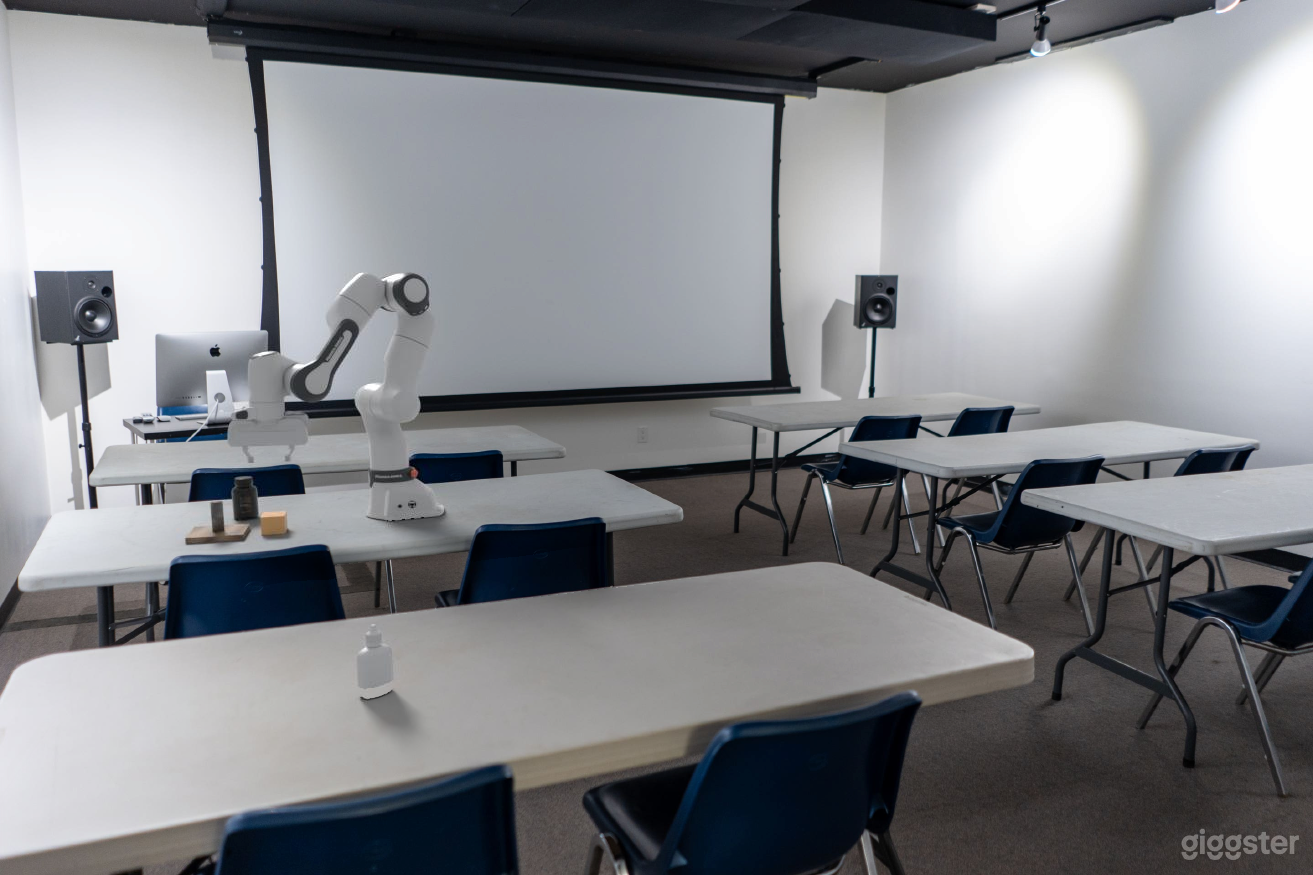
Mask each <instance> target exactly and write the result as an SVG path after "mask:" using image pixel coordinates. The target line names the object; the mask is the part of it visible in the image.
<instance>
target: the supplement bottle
mask: <svg viewBox="0 0 1313 875" xmlns="http://www.w3.org/2000/svg"><path fill="white" fill-rule="evenodd" d="M253 484H254V481H253V476H251V475H250V476H248V475H247V476H246V475H245V476H238V477H235V478H234V485H235V486H234V487H232V489H231V502H232V512H233V519H235V521H236V520H238V521H247V520H254V519H258V517H259V515H260V511H259V500H258V499H259V498H258V496H259V495H258V489H257V488H258V487H256V485H253Z"/></svg>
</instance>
